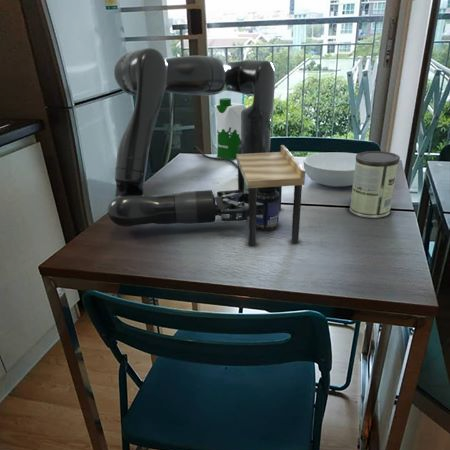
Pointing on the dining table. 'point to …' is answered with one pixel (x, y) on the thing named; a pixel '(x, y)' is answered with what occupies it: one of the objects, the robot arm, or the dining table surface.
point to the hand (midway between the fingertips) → (262, 203)
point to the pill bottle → (268, 208)
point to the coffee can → (373, 183)
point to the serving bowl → (331, 168)
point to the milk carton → (228, 128)
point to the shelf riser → (271, 182)
